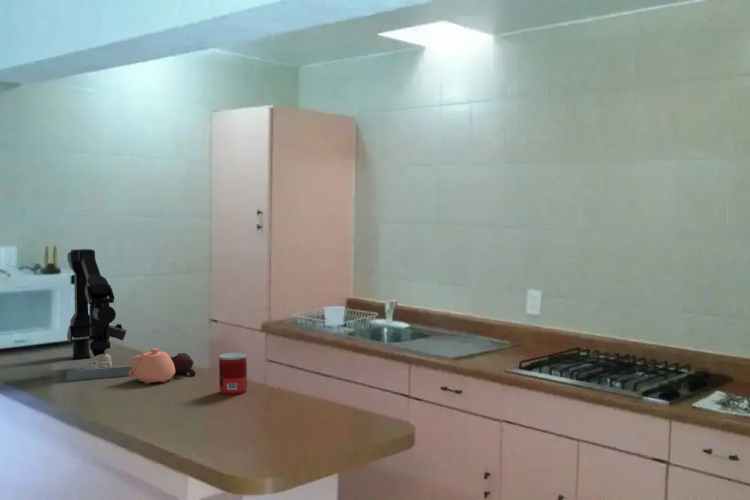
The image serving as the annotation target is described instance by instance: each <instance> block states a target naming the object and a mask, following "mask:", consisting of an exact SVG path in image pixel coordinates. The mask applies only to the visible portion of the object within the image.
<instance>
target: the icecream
mask: <svg viewBox="0 0 750 500" xmlns="http://www.w3.org/2000/svg"><path fill="white" fill-rule="evenodd" d="M169 357H170V356H169ZM170 358H171V360H172V361H173V363H174V366H175V374H186V373H188V374H189V375H190V376H191V377H194V376H196V373H197V372H196V371H195V369H193V365H194V360H193V359H192V358H191V356H190V355H189V354H187V353H186V352H182V353H181V352H180V353H178V354H176V355H175V356H171V357H170Z"/></svg>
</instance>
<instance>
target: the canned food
mask: <svg viewBox="0 0 750 500" xmlns="http://www.w3.org/2000/svg"><path fill="white" fill-rule="evenodd" d="M247 362H248V359H247V354H246V353H245V352H244V353H243V352H228V353H222V354H219V355H218V372H219V392H220V394H221V395H224V396H236V395H241V394H244V393H246V392H247V390H248V371H247V370H248V367H247V366H248V363H247Z"/></svg>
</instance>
